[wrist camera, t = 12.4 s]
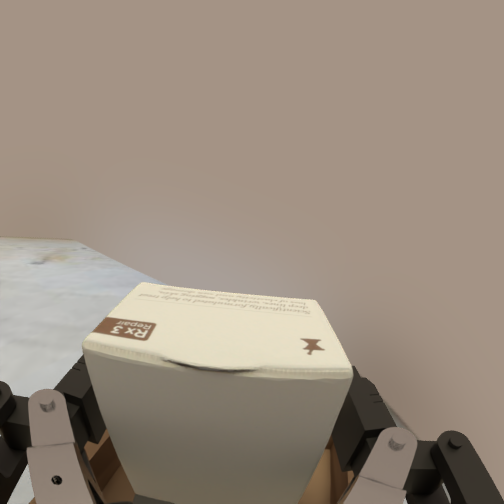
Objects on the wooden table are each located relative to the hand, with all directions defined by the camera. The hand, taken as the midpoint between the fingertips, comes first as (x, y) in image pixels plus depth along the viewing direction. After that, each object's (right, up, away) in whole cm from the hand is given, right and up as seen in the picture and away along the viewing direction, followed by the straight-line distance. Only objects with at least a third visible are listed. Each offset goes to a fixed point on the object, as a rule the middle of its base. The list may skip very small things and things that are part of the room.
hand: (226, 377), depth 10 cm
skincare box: (-1, -9, 0) cm, 9 cm away
